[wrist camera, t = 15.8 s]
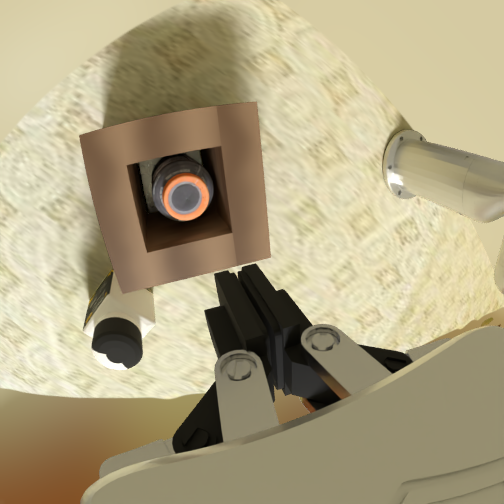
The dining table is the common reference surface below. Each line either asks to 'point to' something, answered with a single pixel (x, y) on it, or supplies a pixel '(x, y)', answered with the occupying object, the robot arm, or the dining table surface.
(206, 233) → the wooden box holder
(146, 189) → the plate
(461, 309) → the dining table surface
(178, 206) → the pill bottle
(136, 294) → the medicine bottle
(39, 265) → the dining table surface
